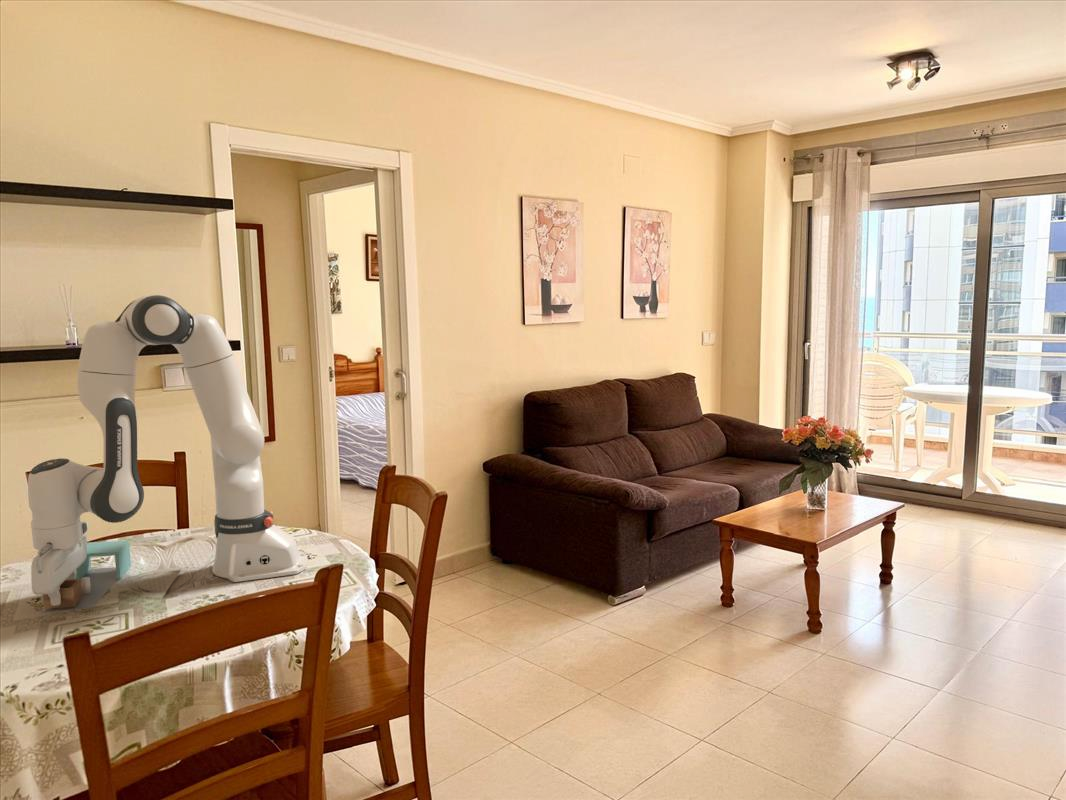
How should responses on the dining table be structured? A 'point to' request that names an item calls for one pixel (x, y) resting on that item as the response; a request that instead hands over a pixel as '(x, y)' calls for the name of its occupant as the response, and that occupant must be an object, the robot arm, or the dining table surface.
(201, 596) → the dining table surface
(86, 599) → the housing base
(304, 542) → the dining table surface
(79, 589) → the block
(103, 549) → the cover
